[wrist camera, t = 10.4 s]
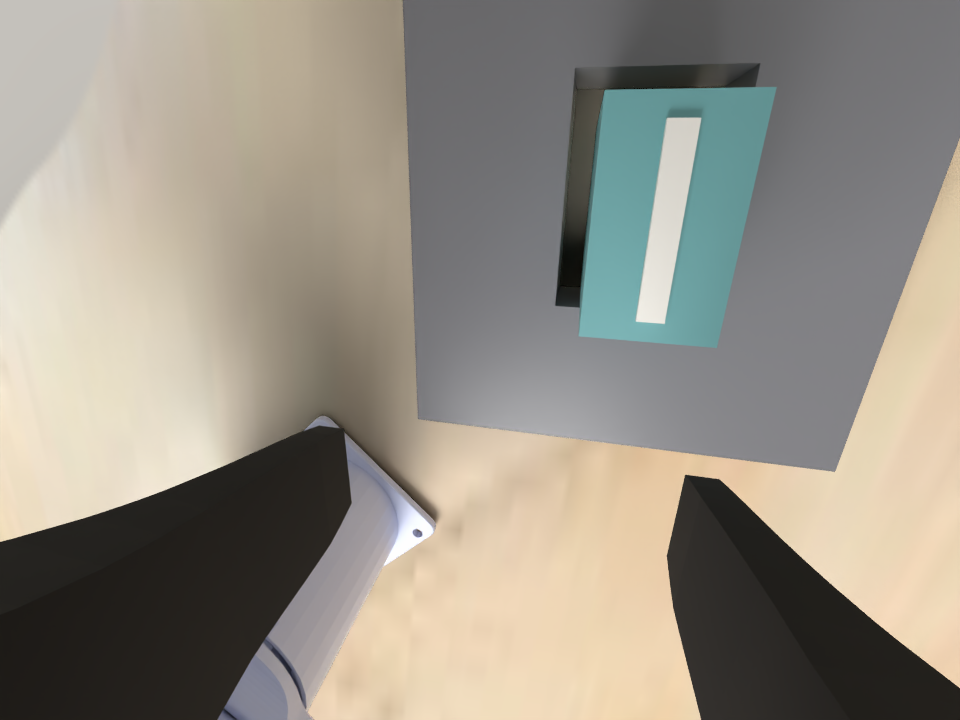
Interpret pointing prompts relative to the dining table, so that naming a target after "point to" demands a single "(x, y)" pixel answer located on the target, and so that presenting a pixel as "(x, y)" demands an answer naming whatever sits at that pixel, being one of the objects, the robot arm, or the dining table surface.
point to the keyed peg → (669, 210)
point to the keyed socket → (767, 233)
